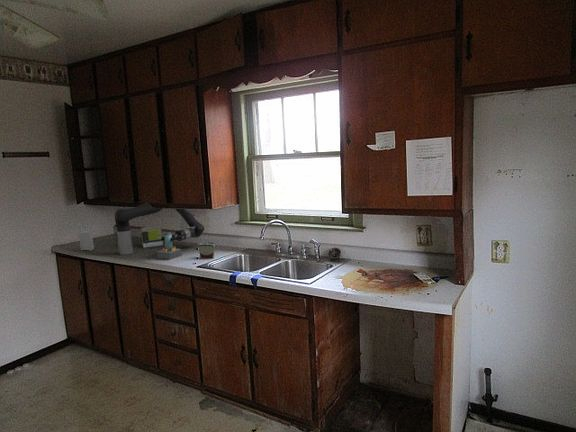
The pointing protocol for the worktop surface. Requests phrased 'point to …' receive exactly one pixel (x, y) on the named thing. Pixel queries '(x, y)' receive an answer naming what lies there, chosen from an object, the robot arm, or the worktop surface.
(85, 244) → the skincare box
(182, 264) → the worktop surface
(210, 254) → the food container
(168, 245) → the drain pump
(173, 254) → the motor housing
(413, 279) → the worktop surface
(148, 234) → the tea box
